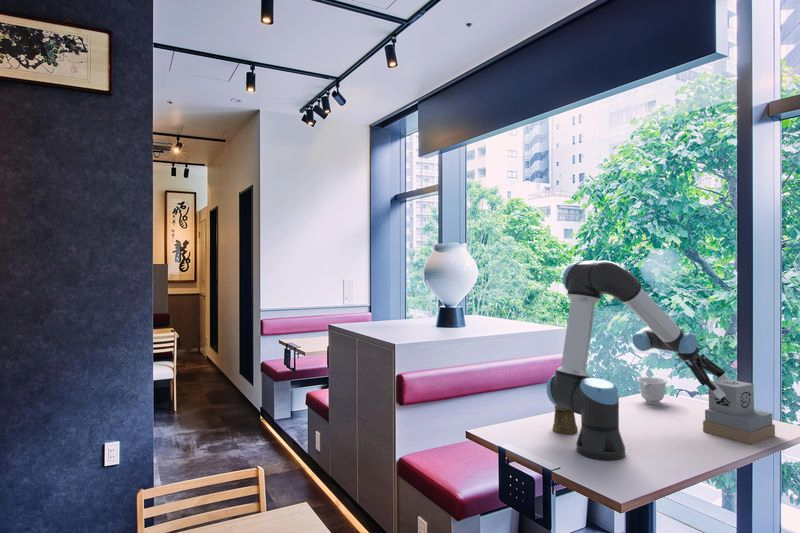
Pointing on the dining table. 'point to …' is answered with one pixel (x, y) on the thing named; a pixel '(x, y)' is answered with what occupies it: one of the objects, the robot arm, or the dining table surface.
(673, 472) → the dining table surface
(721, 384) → the icon cube
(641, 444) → the dining table surface
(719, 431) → the tower base
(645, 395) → the teacup
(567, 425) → the wooden mug
